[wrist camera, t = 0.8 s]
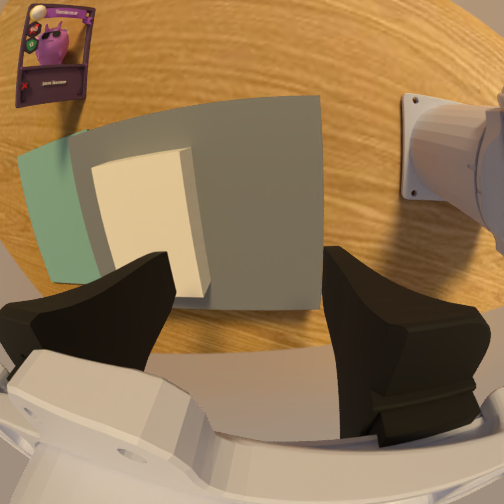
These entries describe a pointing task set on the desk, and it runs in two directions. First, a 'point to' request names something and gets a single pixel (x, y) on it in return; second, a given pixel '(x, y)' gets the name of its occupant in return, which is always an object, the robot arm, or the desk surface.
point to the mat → (57, 213)
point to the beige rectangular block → (155, 214)
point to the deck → (232, 194)
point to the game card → (52, 58)
